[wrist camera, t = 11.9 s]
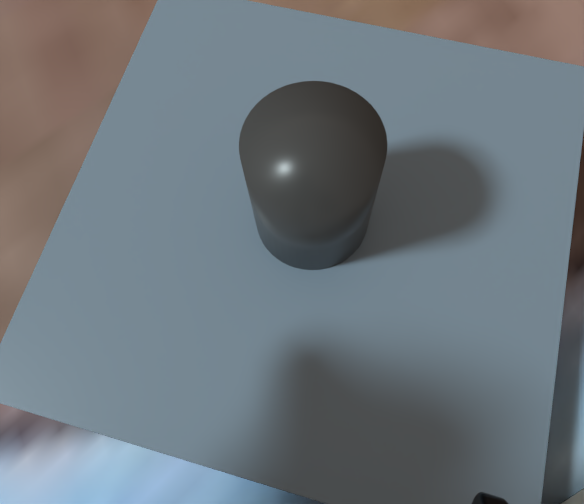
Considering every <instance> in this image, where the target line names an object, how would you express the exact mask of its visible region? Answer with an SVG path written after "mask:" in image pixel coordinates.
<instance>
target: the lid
mask: <svg viewBox="0 0 584 504" xmlns="http://www.w3.org/2000/svg"><path fill="white" fill-rule="evenodd" d="M583 132H584V67H583V66H578V65H573V64H568V63H563V62H558V61H553V60H547V59H542V58H537V57H532V56H527V55H522V54H517V53H512V52H507V51H502V50H497V49H491V48H486V47H481V46H476V45H471V44H466V43H461V42H456V41H451V40H446V39H441V38H435V37H430V36H425V35H420V34H415V33H410V32H405V31H400V30H395V29H390V28H385V27H379V26H374V25H369V24H364V23H359V22H354V21H349V20H344V19H339V18H334V17H329V16H323V15H318V14H313V13H308V12H303V11H298V10H293V9H288V8H283V7H278V6H273V5H267V4H262V3H257V2H252V1H247V0H158V1H157V3H156V5H155V8H154V10H153V12H152V14H151V16H150V18H149V21H148V23H147V25H146V27H145V29H144V32H143V34H142V36H141V38H140V40H139V42H138V45H137V47H136V49H135V51H134V53H133V56H132V58H131V60H130V62H129V64H128V66H127V69H126V71H125V73H124V75H123V77H122V80H121V82H120V84H119V86H118V88H117V90H116V93H115V95H114V97H113V99H112V101H111V104H110V106H109V108H108V110H107V112H106V114H105V117H104V119H103V121H102V123H101V125H100V128H99V130H98V132H97V134H96V136H95V138H94V141H93V143H92V145H91V147H90V149H89V152H88V154H87V156H86V158H85V160H84V162H83V165H82V167H81V169H80V171H79V173H78V176H77V178H76V180H75V182H74V184H73V186H72V189H71V191H70V193H69V195H68V197H67V200H66V202H65V204H64V206H63V208H62V210H61V213H60V215H59V217H58V219H57V221H56V224H55V226H54V228H53V230H52V232H51V234H50V237H49V239H48V241H47V243H46V245H45V248H44V250H43V252H42V254H41V256H40V258H39V261H38V263H37V265H36V267H35V269H34V272H33V274H32V276H31V278H30V280H29V282H28V285H27V287H26V289H25V291H24V293H23V296H22V298H21V300H20V302H19V304H18V306H17V309H16V311H15V313H14V315H13V317H12V320H11V322H10V324H9V326H8V328H7V330H6V333H5V335H4V337H3V339H2V341H1V344H0V403H1V404H4V405H8V406H11V407H14V408H17V409H21V410H24V411H27V412H30V413H34V414H37V415H40V416H43V417H47V418H50V419H53V420H56V421H59V422H63V423H66V424H69V425H72V426H76V427H79V428H82V429H85V430H89V431H92V432H95V433H98V434H102V435H105V436H108V437H111V438H115V439H118V440H121V441H124V442H128V443H131V444H134V445H137V446H141V447H144V448H147V449H150V450H154V451H157V452H160V453H163V454H167V455H170V456H173V457H176V458H180V459H183V460H186V461H189V462H193V463H196V464H199V465H202V466H206V467H209V468H212V469H215V470H219V471H222V472H225V473H228V474H232V475H235V476H238V477H241V478H244V479H248V480H251V481H254V482H257V483H261V484H264V485H267V486H270V487H274V488H277V489H280V490H283V491H287V492H290V493H293V494H296V495H300V496H303V497H306V498H309V499H313V500H316V501H319V502H322V503H326V504H472V502H473V499H474V497H475V496H476V495H477V494H478V493H479V492H485V493H488V494H491V495H495V496H498V497H501V498H503V499H505V500H506V501H507V502H508V504H541V500H542V491H543V482H544V473H545V465H546V456H547V447H548V438H549V430H550V421H551V412H552V403H553V395H554V386H555V377H556V368H557V360H558V351H559V342H560V333H561V324H562V316H563V307H564V298H565V289H566V281H567V272H568V263H569V254H570V246H571V237H572V228H573V219H574V211H575V202H576V193H577V184H578V176H579V167H580V158H581V149H582V141H583Z"/></svg>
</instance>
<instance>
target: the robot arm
mask: <svg viewBox="0 0 584 504" xmlns="http://www.w3.org/2000/svg"><path fill="white" fill-rule="evenodd" d="M472 504H508V502H507V501H506V500H505V499H503V498H501V497H498V496H495V495H491V494H488V493H485V492H479V493H478V494H477V495H476V496H475V497H474V499H473V502H472Z"/></svg>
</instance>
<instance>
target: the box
mask: <svg viewBox="0 0 584 504" xmlns="http://www.w3.org/2000/svg"><path fill="white" fill-rule="evenodd" d="M561 504H584V489H582V490H581V491H579V492H578V493H576V494H575V495H573V496H572V497H570V498H569V499H567V500H566V501H564V502H563V503H561Z"/></svg>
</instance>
